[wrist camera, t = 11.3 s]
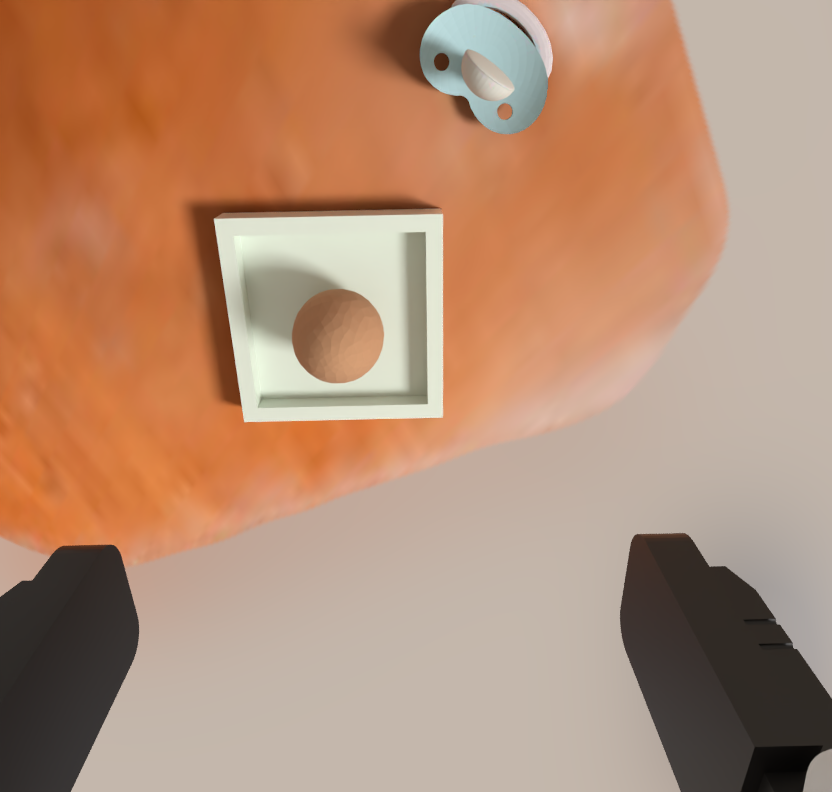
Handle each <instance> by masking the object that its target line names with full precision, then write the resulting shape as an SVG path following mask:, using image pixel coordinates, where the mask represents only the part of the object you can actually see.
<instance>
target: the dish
mask: <svg viewBox="0 0 832 792" xmlns="http://www.w3.org/2000/svg"><path fill="white" fill-rule="evenodd" d="M214 223H215V230H216V236H217V243H218V250H219V256H220V263H221V270H222V277H223V283H224V290H225V297H226V303H227V310H228V317H229V323H230V330H231V337H232V343H233V350H234V357H235V364H236V370H237V377H238V384H239V390H240V397H241V404H242V410H243V417H244V422H265V421H309V420H353V419H397V418H441V417H443V213H442V209H441V208H434V209H387V210H339V211H291V212H243V213H222V214H220V215H219V216H217V217H216V218H214ZM331 289H345V290H350V291H354V292H356V293H358V294H360V295H362V296H363V297H365V298H366V299H367V300H369V301H370V303H371V304H372V305H373V306H374V307H375V308H376V310H377V312H378V313H379V315H380V318H381V321H382V324H383V329H384V341H383V348H382V351H381V353H380V356H379V359H378V360H377V362H376V363H375V364H374V366H373V367H372V368H371V369H370V371H369V372H367V373H366V374H365V375H363V376H362V377H360V378H359V379H357V380H355V381H351V382H347V383H328V382H324V381H321V380H319V379H317V378H315V377H314V376H312V375H311V374H309V373H308V372H307V371H306V370H305V369H304V368H303V367H302V366H301V365H300V363H299V361H298V359H297V358H296V356H295V353H294V349H293V344H292V330H293V325H294V321H295V319H296V316H297V313H298V312H299V311H300V309H301V308H302V306H303V305H304V304H305V303H306V302H307V301H308V300H309V299H310V298H311V297H313V296H315V295H316V294H318V293H320V292H323V291H326V290H331Z"/></svg>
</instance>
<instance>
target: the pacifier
mask: <svg viewBox="0 0 832 792" xmlns="http://www.w3.org/2000/svg"><path fill="white" fill-rule="evenodd" d="M491 9H494V10H497V11H499V12H502V13H504V14H506V15H508V16H509V17H510V18H512V19H513V20H515V21H516V22H517V23H518V24H519V25H520V26H521V27H522V28H523V29H524V31H525V32H526V34H527V35H528V37H529V38H530V39H529V38H528V37H527V36H526V35H525V34H524V33H523V32H522V31H521V30H520V29H519V28H518V27H517V26H516V25H515V24H514V23H512V22H511V21H510V20H508V19H507V18H505V17H504V16H502V15H501V14H499V13H497V12H495V11H493V10H491ZM530 40H531V41H530ZM439 53H444V54H446V55H447V56H448V58H449V66H448V68H447V69H446V70H444V71H439V70H438V69H436V67H435V65H434V58H435V56H436V55H437V54H439ZM552 62H553V55H552V49H551V43H550V41H549V38H548V36H547V33H546V31H545V29H544V28H543V26H542V25H541V23H540V22H539V20H538V18H537V17H536V16H535V15H534V14H533V13H532V12H531V11H530V10H529V9H528V8H527V7H526V6H525V5H524V4H522V3H521V2H519V1H518V0H456V1H455V2H454V3H453V4H452V6H451V8H450V9H448V10H447V11H445V12H443V13H442V14H440V15H439V16H438V17H436V18H435V20H434V21H433V22H432V23H431V24H430V25H429V27H428V29H427V30H426V32H425V34H424V37H423V39H422V43H421V47H420V63H421V67H422V70H423V73H424V75H425V77H426V79H427V80H428V81H429V82H430V83H431V84H432V85H433V86H434V87H435V88H436V89H438V90H439V91H441V92H443V93H446V94H449V95H454V96H460V95H461V96H464V97H465V98H467V100H468V101H469V104H470V107H471V109H472V111H473V113H474V115H475V116H476V118H477V119H478V120H479V122H481V123H482V124H483V125H484V126H485V127H486V128H488V129H490V130H492V131H494V132H497V133H500V134H513V133H518V132H520V131H522V130H525V129H526V128H527V127H529V126H530V125H531V124H532V123H533V122H534V121H535V120H536V119H537V117H538V116H539V114H540V113H541V111H542V109H543V107H544V104H545V100H546V97H547V89H548V77H549V75H550V73H551V70H552ZM503 103H507V104H509V105H510V106H511V108H512V115H511V117H510V118H509V119H507V120H502V119H500V118H499V117H498V115H497V109H498V107H499V106H500V105H501V104H503Z"/></svg>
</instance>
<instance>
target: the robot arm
mask: <svg viewBox="0 0 832 792" xmlns="http://www.w3.org/2000/svg"><path fill="white" fill-rule="evenodd" d="M620 624H621V633H622V639H623V643H624V647H625V650H626V653H627V655H628V658H629V661H630V663H631V666H632V668H633V670H634V673H635V676H636V678H637V681H638V683H639V686H640V688H641V691H642V693H643V696H644V699H645V701H646V704H647V706H648V709H649V711H650V714H651V717H652V719H653V722H654V724H655V726H656V729H657V732H658V734H659V737H660V739H661V742H662V745H663V747H664V750H665V752H666V755H667V757H668V760H669V762H670V765H671V767H672V770H673V773H674V775H675V777H676V780H677V783H678V785H679V788H680V790H681V792H832V699H831V697H830V696H829V694H828V693H827V691H826V690H825V688H824V687H823V686H822V684H821V683H820V681H819V680H818V678H817V677H816V676H815V674H814V673H813V672H812V670H811V668H810V667H809V666H808V664H807V663H806V661H805V660H804V658H803V657H802V656H801V654H800V653H799V651H798V650H797V649H794V648H793V645H792V644H793V643H792V641H791V640H790V638H789V637H788V636H787V634H786V633H785V631H784V630H783V629H782V627H781V626H780V625H777V624H776V619H775V617H774V616H773V614H772V613H771V611H770V610H769V609H768V607H767V606H766V604H765V603H764V601H763V600H762V598H761V597H760V596H759V594H758V593H757V591H756V590H755V589H754V588H752V587H751V586H750V585H748V584H747V583H746V582H745V581H743V580H742V579H741V578H739V577H738V576H737V575H735V574H734V573H733V572H731V571H730V570H729V569H728V568H727V567H725V566H721V567H709V565H708V564H707V562H706V561H705V559H704V558H703V556H702V554H701V553H700V551H699V550H698V548H697V547H696V545H695V543H694V542H693V540H692V539H691V538H690V537H689V536H688V535H687V534H685V533H674V534H637V535H635V536H634V537H633V539H632V542H631V546H630V552H629V559H628V565H627V571H626V577H625V583H624V590H623V596H622V603H621V610H620ZM138 637H139V622H138V617H137V613H136V609H135V605H134V601H133V598H132V594H131V590H130V587H129V583H128V580H127V576H126V572H125V568H124V564H123V561H122V557H121V554H120V552H119V550H118V549H117V547H115V546H114V545H79V546H62V547H59V548H58V549H57V550H56V551H55V552H54V553H53V554H52V555H51V557H50V558H49V559H48V561H47V562H46V563H45V565H44V566H43V567H42V569H41V570H40V571H39V572H38V574H37V575H36V576H35V578H34V579H33V580H32V581H21V582H20V583H19V584H17V585H16V586H15V587H13V588H12V589H10V590H9V591H8V592H6V593H5V594H4V595H2V596H1V597H0V792H71V790H72V788H73V786H74V784H75V782H76V779H77V777H78V775H79V773H80V771H81V769H82V767H83V765H84V763H85V761H86V758H87V756H88V754H89V752H90V750H91V748H92V746H93V744H94V742H95V739H96V737H97V735H98V733H99V731H100V729H101V727H102V725H103V723H104V721H105V719H106V717H107V714H108V712H109V710H110V708H111V706H112V704H113V702H114V700H115V697H116V696H117V693H118V691H119V689H120V687H121V685H122V683H123V681H124V679H125V677H126V675H127V673H128V670H129V668H130V666H131V664H132V662H133V660H134V657H135V654H136V650H137V645H138V639H139V638H138Z"/></svg>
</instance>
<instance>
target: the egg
mask: <svg viewBox="0 0 832 792" xmlns="http://www.w3.org/2000/svg"><path fill="white" fill-rule="evenodd" d="M383 341H384V329H383V324H382V321H381V318H380V315H379V313H378V312H377V310H376V308H375V307H374V306H373V305H372V304H371V303H370V301H369V300H367V299H366V298H365V297H363V296H362V295H360V294H358V293H356V292H354V291H350V290H345V289H331V290H326V291H323V292H320V293H318V294H316V295H315V296H313V297H311V298H310V299H309V300H308V301H307V302H306V303H305V304H304V305H303V306H302V308H301V309H300V311H299V312H298V313H297V316H296V319H295V321H294V325H293V330H292V344H293V349H294V353H295V356H296V358H297V359H298V361H299V363H300V365H301V366H302V367H303V368H304V369H305V370H306V371H307V372H308V373H309V374H311V375H312V376H314V377H315V378H317V379H319V380H321V381H324V382H328V383H347V382H351V381H355V380H357V379H359V378H360V377H362V376H363V375H365V374H366V373H367V372H369V371H370V369H371V368H372V367H373V366H374V364H375V363H376V362H377V360H378V359H379V356H380V353H381V351H382V348H383Z"/></svg>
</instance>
